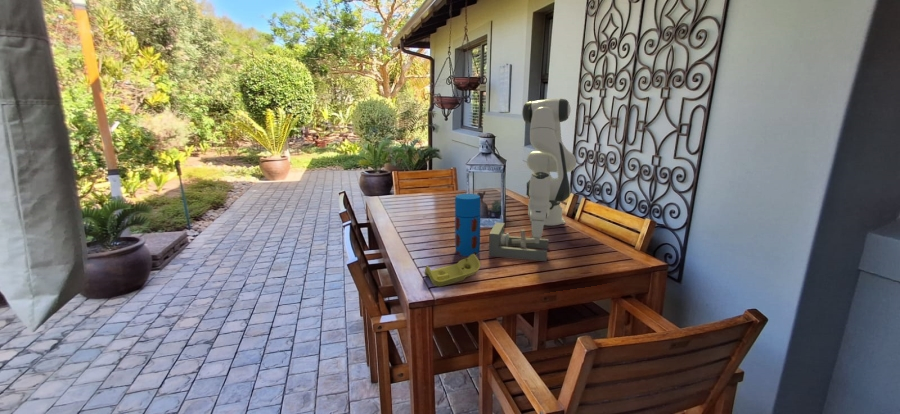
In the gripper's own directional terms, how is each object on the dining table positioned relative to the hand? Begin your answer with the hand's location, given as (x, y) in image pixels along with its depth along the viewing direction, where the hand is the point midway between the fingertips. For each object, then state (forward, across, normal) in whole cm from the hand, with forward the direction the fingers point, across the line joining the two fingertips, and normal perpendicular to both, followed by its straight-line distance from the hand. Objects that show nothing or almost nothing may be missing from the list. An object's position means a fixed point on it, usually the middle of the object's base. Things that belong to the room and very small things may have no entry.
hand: (537, 242), depth 171 cm
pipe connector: (+5, 0, -5) cm, 7 cm away
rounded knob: (+3, -1, -16) cm, 16 cm away
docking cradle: (+5, -1, -7) cm, 9 cm away
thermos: (+5, +5, -30) cm, 30 cm away
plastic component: (+6, +33, -29) cm, 44 cm away
